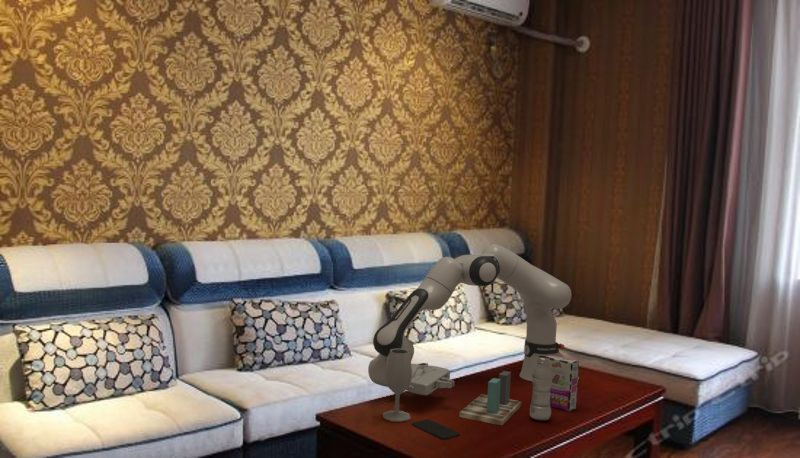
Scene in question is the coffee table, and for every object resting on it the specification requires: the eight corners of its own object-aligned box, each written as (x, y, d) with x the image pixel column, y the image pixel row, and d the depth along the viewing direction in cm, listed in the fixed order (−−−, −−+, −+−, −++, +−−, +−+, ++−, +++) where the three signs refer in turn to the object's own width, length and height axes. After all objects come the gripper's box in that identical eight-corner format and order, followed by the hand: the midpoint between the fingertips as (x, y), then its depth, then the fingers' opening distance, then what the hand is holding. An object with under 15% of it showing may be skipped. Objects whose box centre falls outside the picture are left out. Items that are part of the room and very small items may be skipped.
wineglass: (378, 414, 218) (381, 348, 217) (403, 411, 222) (406, 346, 220) (388, 424, 210) (391, 355, 209) (415, 421, 214) (418, 353, 212)
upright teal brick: (486, 413, 219) (488, 381, 218) (491, 408, 223) (493, 378, 222) (494, 414, 218) (496, 383, 217) (499, 410, 222) (500, 379, 221)
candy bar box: (576, 409, 232) (580, 360, 231) (569, 412, 229) (572, 363, 228) (547, 400, 240) (550, 353, 239) (539, 403, 236) (542, 355, 235)
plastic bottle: (550, 424, 217) (554, 360, 215) (528, 421, 218) (532, 358, 217) (550, 417, 223) (554, 355, 222) (528, 414, 224) (532, 353, 223)
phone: (428, 418, 216) (462, 433, 204) (428, 421, 216) (461, 436, 204) (409, 423, 211) (443, 438, 199) (409, 425, 211) (443, 441, 199)
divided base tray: (459, 416, 219) (459, 409, 219) (480, 398, 238) (481, 392, 238) (502, 425, 214) (502, 418, 213) (521, 406, 232) (521, 399, 232)
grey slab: (497, 404, 228) (499, 374, 227) (501, 400, 232) (503, 370, 231) (504, 406, 226) (506, 375, 226) (509, 401, 231) (511, 372, 230)
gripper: (400, 376, 222) (441, 383, 216) (426, 361, 241) (464, 367, 235) (400, 395, 223) (440, 403, 217) (425, 379, 241) (463, 385, 235)
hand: (452, 384), depth 226 cm, fingers closed
